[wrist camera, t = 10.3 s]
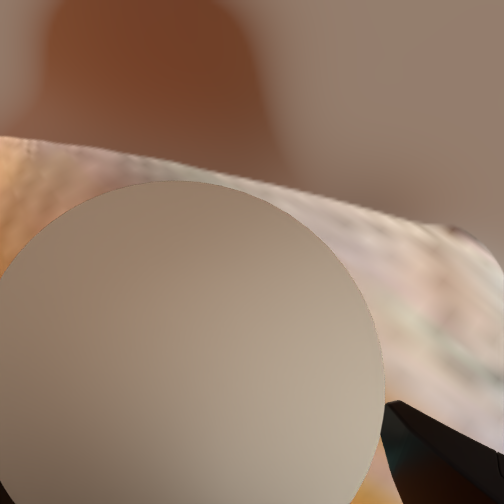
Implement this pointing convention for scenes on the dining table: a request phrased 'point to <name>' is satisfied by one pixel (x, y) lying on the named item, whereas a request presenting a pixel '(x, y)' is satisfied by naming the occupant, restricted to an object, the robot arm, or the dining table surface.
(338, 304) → the peg
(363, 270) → the dining table surface
